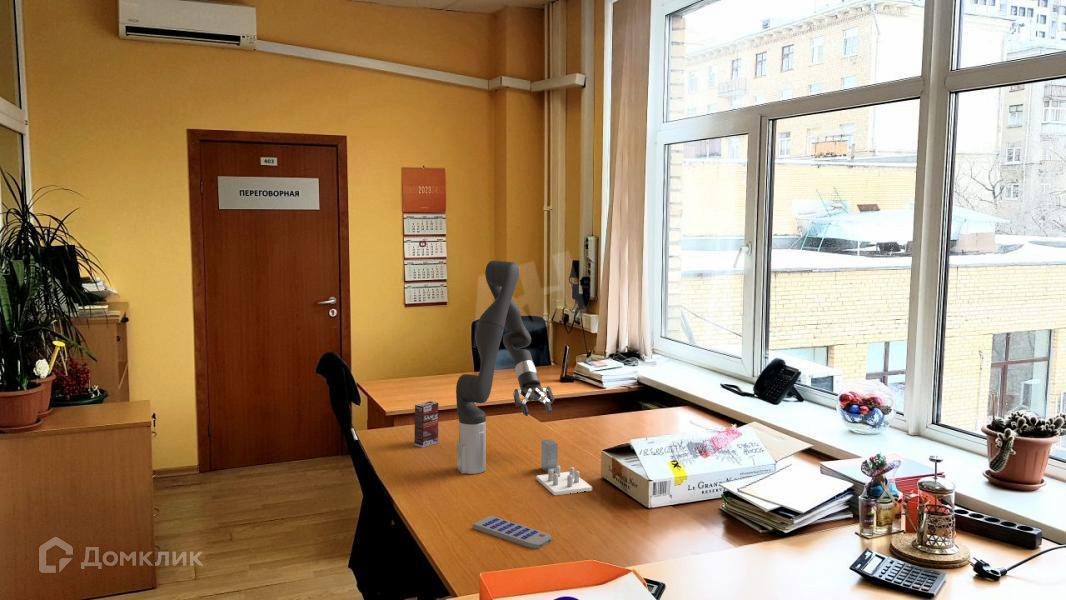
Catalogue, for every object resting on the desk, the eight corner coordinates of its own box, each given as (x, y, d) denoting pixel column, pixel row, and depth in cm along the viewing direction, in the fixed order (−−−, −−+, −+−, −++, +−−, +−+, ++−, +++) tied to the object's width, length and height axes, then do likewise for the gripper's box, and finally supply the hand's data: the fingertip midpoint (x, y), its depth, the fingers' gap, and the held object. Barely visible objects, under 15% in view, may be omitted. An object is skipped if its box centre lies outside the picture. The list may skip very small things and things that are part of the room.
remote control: (491, 521, 225) (491, 514, 225) (554, 541, 211) (554, 534, 211) (472, 530, 219) (472, 522, 219) (536, 551, 205) (536, 543, 205)
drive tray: (554, 495, 245) (554, 481, 244) (536, 479, 259) (536, 465, 259) (592, 490, 249) (592, 476, 249) (571, 474, 264) (572, 461, 263)
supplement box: (423, 448, 292) (422, 406, 290) (414, 445, 295) (413, 404, 293) (439, 442, 299) (439, 402, 297) (430, 440, 302) (430, 400, 300)
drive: (548, 473, 265) (548, 445, 264) (541, 468, 271) (541, 440, 270) (557, 472, 266) (557, 444, 265) (550, 467, 272) (551, 439, 271)
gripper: (511, 371, 280) (522, 410, 271) (548, 369, 286) (559, 406, 276) (506, 382, 286) (517, 421, 277) (542, 380, 291) (554, 417, 282)
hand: (538, 414), depth 276 cm, fingers open, 8 cm apart
